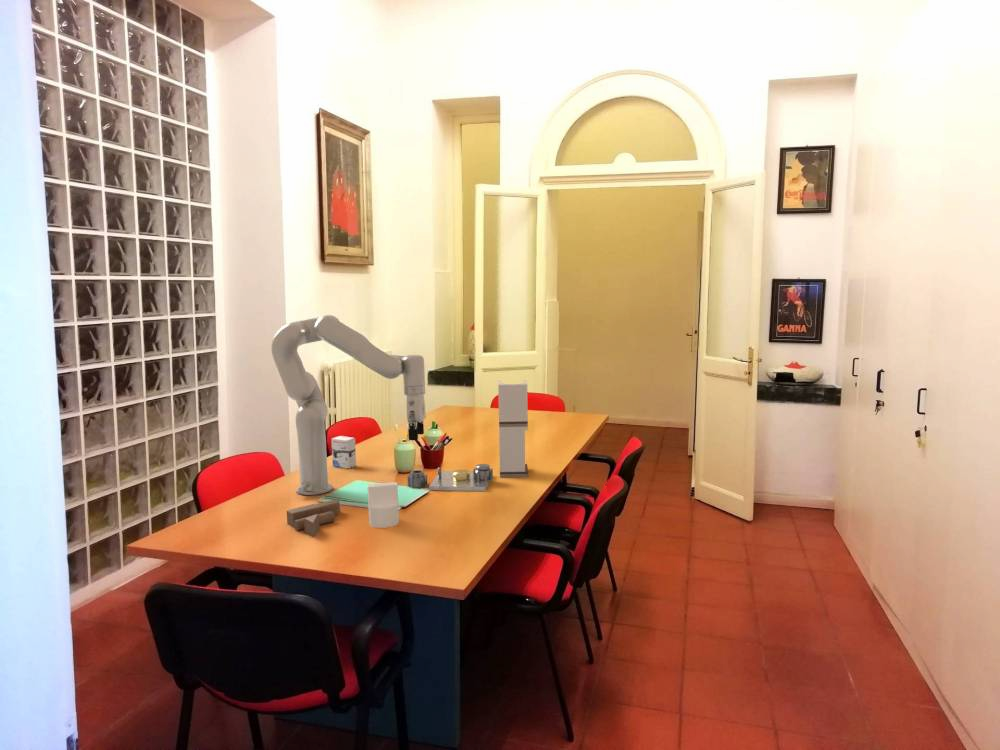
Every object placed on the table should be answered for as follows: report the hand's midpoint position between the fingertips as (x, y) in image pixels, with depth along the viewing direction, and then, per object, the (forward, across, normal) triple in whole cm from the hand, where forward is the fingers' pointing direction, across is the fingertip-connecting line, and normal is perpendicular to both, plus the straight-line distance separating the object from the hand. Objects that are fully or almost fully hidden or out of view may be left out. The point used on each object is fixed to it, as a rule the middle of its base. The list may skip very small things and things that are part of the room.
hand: (416, 437), depth 249 cm
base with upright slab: (+18, -40, +2) cm, 44 cm away
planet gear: (+18, 0, 0) cm, 18 cm away
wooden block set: (+18, -42, +20) cm, 50 cm away
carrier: (+18, +4, -15) cm, 24 cm away
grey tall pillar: (+18, +18, -33) cm, 42 cm away
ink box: (+18, +25, +36) cm, 47 cm away
